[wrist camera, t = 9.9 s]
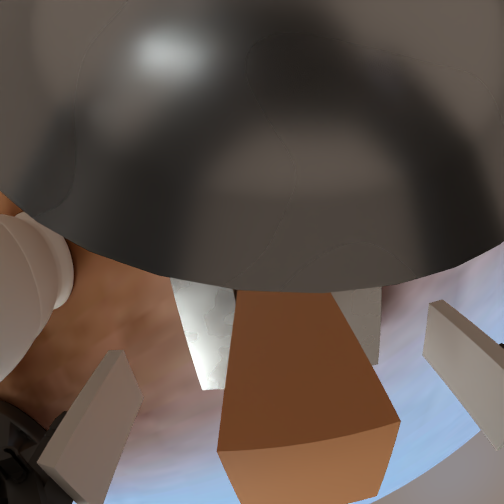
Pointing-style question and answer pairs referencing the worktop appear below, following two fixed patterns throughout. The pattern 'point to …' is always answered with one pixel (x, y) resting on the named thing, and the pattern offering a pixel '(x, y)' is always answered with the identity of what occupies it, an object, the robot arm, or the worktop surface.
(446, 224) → the plate with square hole
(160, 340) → the worktop surface
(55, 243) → the jar
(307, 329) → the orange square bar
